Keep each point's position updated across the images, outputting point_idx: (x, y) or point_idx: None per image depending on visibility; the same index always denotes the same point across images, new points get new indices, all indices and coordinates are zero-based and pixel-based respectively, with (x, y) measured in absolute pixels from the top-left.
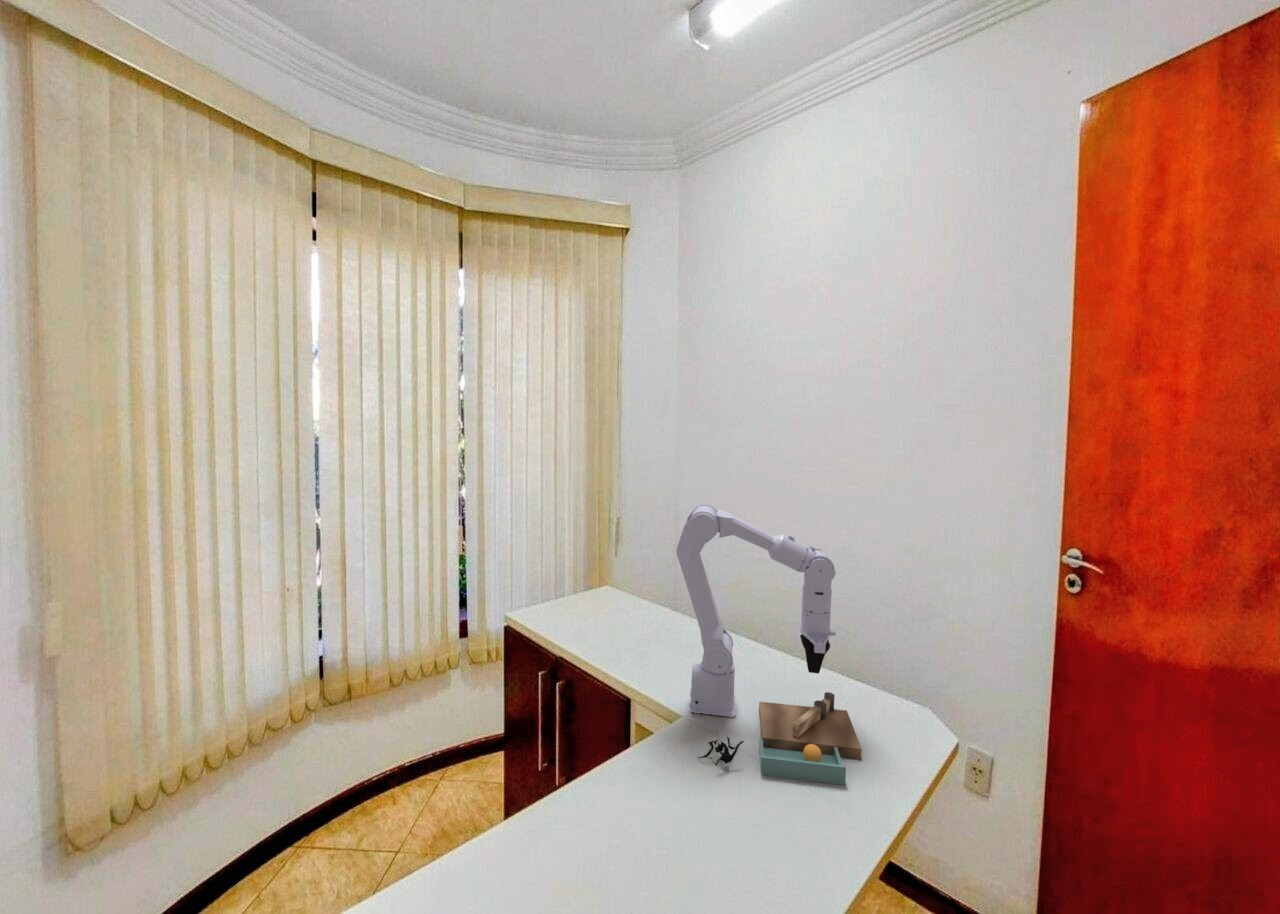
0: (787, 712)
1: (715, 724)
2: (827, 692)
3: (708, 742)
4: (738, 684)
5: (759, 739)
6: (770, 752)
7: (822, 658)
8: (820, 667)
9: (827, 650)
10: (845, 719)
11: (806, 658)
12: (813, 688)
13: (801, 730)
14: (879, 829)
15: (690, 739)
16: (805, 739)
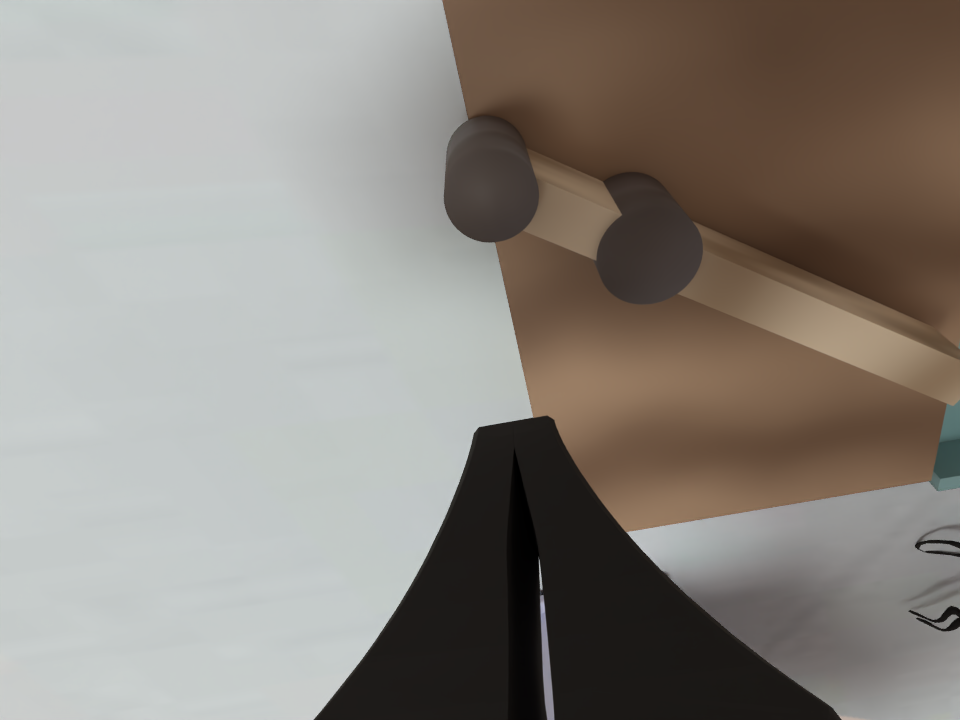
0: (634, 406)
1: (736, 618)
2: (455, 217)
3: (935, 627)
4: (333, 612)
5: (948, 489)
6: (957, 409)
7: (642, 557)
8: (569, 456)
9: (788, 681)
10: (604, 5)
11: (539, 646)
12: (98, 267)
13: (916, 325)
14: None
15: (863, 658)
16: (937, 280)
